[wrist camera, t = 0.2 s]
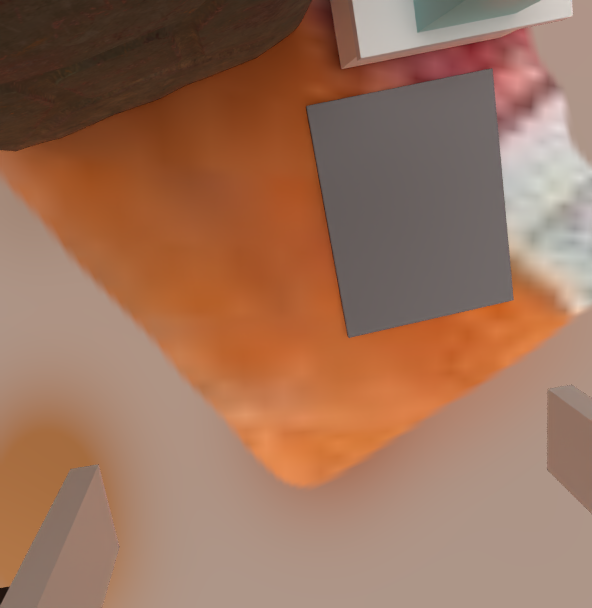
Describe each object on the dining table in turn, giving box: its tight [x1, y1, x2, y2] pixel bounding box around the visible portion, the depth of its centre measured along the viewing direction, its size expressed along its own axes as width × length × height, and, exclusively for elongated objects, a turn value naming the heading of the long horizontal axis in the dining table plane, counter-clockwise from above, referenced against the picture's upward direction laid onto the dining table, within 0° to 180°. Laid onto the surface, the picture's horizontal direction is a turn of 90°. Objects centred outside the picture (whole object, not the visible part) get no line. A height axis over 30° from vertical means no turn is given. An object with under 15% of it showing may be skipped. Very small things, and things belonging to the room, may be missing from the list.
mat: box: [306, 69, 514, 338], centre depth 42 cm, size 18×14×1 cm
